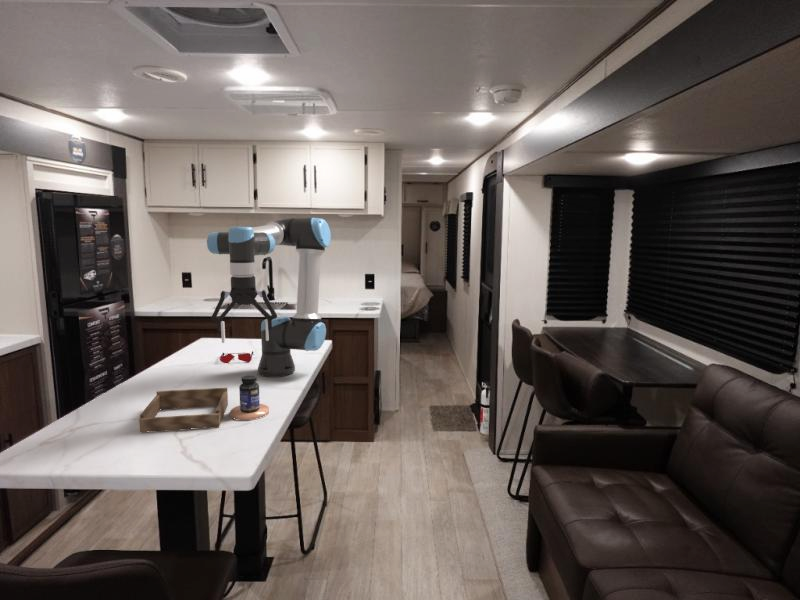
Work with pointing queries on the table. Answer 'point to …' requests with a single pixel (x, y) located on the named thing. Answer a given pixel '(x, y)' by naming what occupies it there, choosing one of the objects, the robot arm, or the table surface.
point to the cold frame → (184, 400)
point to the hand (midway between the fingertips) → (245, 340)
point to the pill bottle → (249, 394)
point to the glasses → (229, 357)
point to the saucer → (241, 415)
